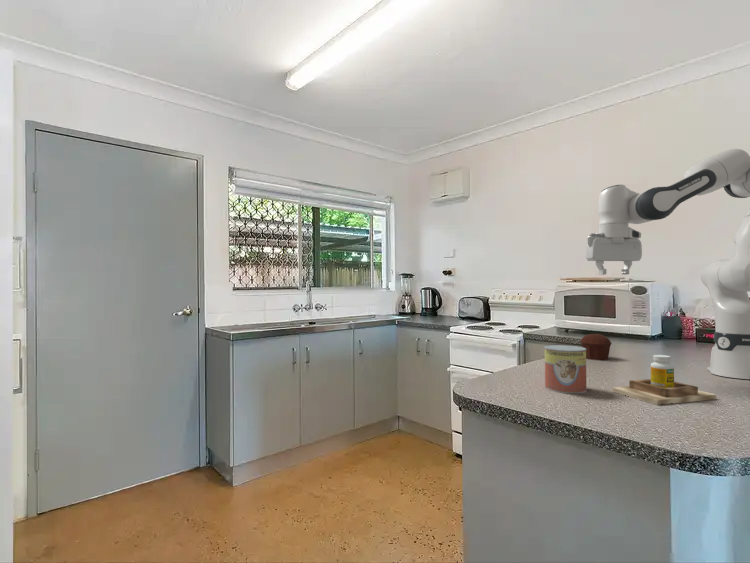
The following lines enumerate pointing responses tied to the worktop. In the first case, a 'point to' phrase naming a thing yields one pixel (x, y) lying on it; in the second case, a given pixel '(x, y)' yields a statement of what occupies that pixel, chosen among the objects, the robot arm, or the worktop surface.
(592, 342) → the muffin
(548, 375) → the canned food
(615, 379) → the worktop surface
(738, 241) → the robot arm
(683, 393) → the wooden tray
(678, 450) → the worktop surface
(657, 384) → the supplement bottle
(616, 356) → the worktop surface
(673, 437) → the worktop surface
